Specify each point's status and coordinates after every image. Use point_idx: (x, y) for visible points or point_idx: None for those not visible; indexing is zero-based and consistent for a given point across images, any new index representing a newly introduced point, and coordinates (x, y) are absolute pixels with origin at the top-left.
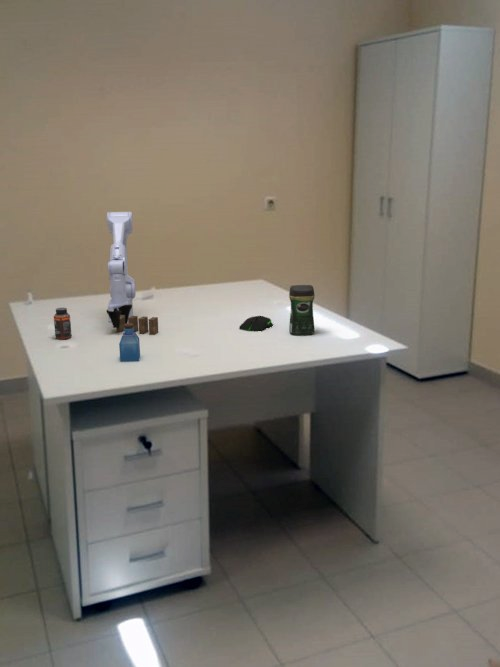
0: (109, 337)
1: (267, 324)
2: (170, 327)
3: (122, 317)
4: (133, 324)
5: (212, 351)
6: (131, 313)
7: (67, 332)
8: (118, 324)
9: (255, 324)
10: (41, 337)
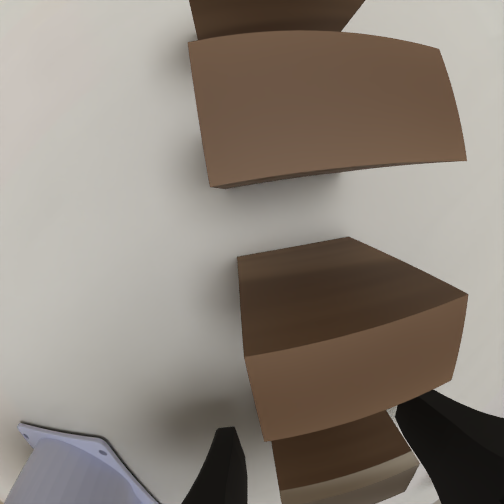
0: (472, 328)
1: None
2: (20, 76)
3: (352, 476)
4: (392, 263)
5: None
6: (43, 471)
7: None
8: (437, 392)
9: None
10: None
